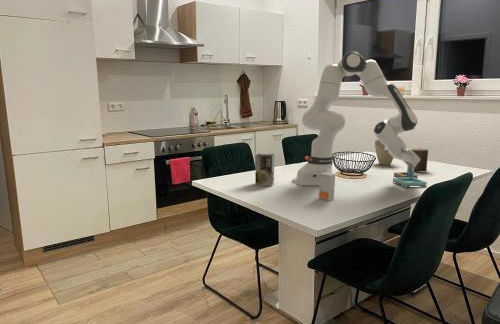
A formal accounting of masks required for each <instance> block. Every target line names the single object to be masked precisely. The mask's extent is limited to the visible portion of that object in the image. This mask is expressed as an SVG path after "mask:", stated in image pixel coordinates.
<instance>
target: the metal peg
mask: <svg viewBox="0 0 500 324" xmlns="http://www.w3.org/2000/svg"><path fill="white" fill-rule="evenodd" d="M406 165H407V164H406ZM406 167H407V168H406V172H407V177H414V174H415V172H414V167H413V166H412V165H411V163H409V162H408V165H407V166H406Z"/></svg>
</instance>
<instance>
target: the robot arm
mask: <svg viewBox="0 0 500 324" xmlns="http://www.w3.org/2000/svg"><path fill="white" fill-rule="evenodd" d="M353 76H358V77H359V79H360V80H361V82H362V85H363V87H364V90H365V92H366V93H367V94H368V95H370V96H371V97H376V98H387V99H390V100H391V101H392V103H393V104H394V106H395V107H396V109H397V111H398V112H399V113H397V114H395V115H392V116H389V117H387V118H385V119H383V120H382V121H380V122H378V123H377V124H376V125H375V126H374V129H373V133H374V135H375V136H376V138H377V140H379V141H380V142H381V143H382V144H383V145H385V149H384V150H385V151H386V152H388V153H389V154H390V155H391V156H392V157H393V159H395V160H399V161H402V162H403V163H404V164H406V165H408V162H409V163H411V165H412V166H413V167H415V166H416V165H417V164H418V163H419V161H420V158H419V157H418V156H417V155H416V154H415V153H414V152H413V151H412V149H411V150H410V149H408V148H407V144H406V142H405V141H404V140H403V139H402V138H401V136H398V135H399V134H401V133H404V132H408V131H412V130H414V129H415V127H416V126H417V124H418V117H417V116H416V114H415V113H414V111H412V109H411V108H410V106H409V105H408V103H407V102H406V100H405V99H404V97H403V95H402V94H401V92H400V91H399V89H398V88H397V86H396V85H395V84H393V83H391V82H389V81H388V80H387V79H386V77H385V75H384V74H383V71H382V69H381V68H380V66H379V64H378V63H377V61H376V60H374V59H366V58H365V57H364V56H362V54H360V53H359V52H357V51H349V52H347V53H345V54H344V55H343V57H341V59H340V60H339V61H338V63H329V64H326V65H325V67H324V68H323V71H322V74H321V78H320V81H319V86H318V90H317V95H316V98H315V99H314V102H313V103H312V105H311V106H310V108H309V109H308V110H306V111H305V112H304V113H303V115H302V118H301V122H302V125H303V126H304V127H305V128H306V129H310V130H313V131H319V132H318V136H317V138H314V139H313V140H312V142H311V154H310V156H308V155H306V156H305V157H304V159H305V160H306V161H307V163H306V164H304V165H303V166H302V167H300V168H299V169H298V170H297V174H296V177H293V178H292V182H293V183H294V184H296V185H298V186H319V179H320V173H323V172H326V173H332V174H333V168H332V167H333V162H334V161H333V146H334V141H335V138H336V136H337V135H338V133H339V132H341V131H342V130H343V128H344V127H345V124H346V118H345V115H344V114H343V113H341V112H338V111H335V110H330V108H331V107H332V106H333V105H334V104H336V103H337V101H338V100H339V96H340V90H341V84H342V80H343V79H344V78H351V77H353Z"/></svg>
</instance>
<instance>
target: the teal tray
mask: <svg viewBox="0 0 500 324" xmlns="http://www.w3.org/2000/svg"><path fill="white" fill-rule="evenodd" d="M393 182H395V183H398V184H400V185H403V186H406V187H410V186H426V187H427V181H424V180H422V179H419V178H417V179H416V178H413V177H404V178H394V177H392V183H393ZM395 183H394V184H395ZM398 184H397V185H398ZM400 185H399V186H400ZM403 186H402V187H403Z"/></svg>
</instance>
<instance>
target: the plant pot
mask: <svg viewBox="0 0 500 324" xmlns="http://www.w3.org/2000/svg"><path fill="white" fill-rule="evenodd" d="M374 146H375V147H374V148H375V153H376V158H377V161H378V165H380V164H383V165H382V166H391V165H392V163H393V160H394V158H393V157H392V156H391V155H390V154H389V153H388V152H386V151H385V150H384V149H385V145H383V144H382V143H381V142H380V141H379V139H376V140H374ZM390 164H391V165H390Z"/></svg>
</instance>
